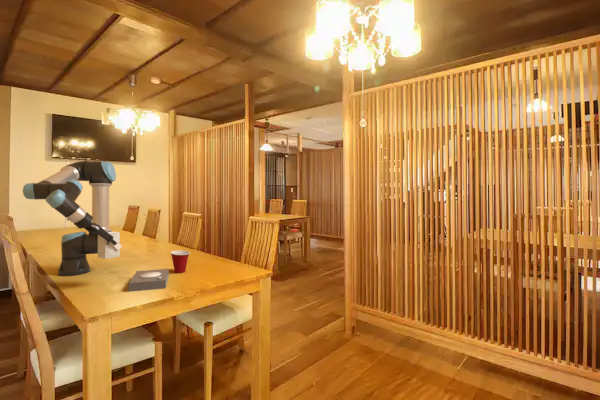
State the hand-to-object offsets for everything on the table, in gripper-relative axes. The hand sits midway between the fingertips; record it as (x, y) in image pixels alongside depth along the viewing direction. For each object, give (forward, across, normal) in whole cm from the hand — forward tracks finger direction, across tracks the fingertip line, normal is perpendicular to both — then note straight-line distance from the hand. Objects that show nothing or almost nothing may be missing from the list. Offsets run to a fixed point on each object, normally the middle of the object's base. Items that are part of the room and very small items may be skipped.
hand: (116, 247), depth 165 cm
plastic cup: (+36, +6, +10) cm, 38 cm away
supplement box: (+1, 0, -6) cm, 6 cm away
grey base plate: (+20, +14, -6) cm, 25 cm away
